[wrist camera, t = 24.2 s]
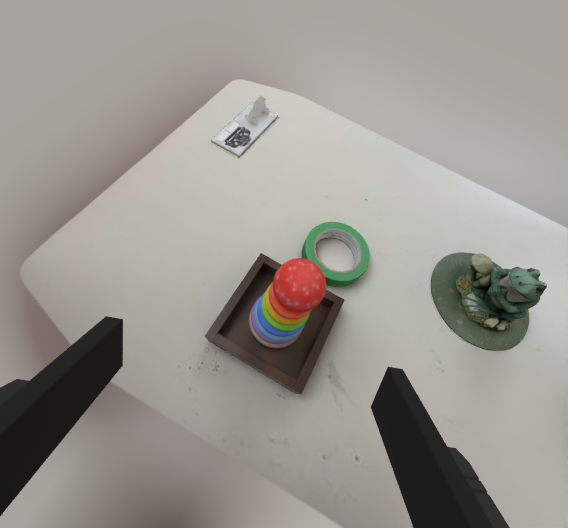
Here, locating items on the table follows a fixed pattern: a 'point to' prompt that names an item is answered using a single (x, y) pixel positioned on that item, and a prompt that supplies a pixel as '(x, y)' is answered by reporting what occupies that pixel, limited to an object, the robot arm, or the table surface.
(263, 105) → the car cutout
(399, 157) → the table surface
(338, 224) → the tape roll
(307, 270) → the stacking toy
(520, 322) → the frog figurine
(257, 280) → the square tray
